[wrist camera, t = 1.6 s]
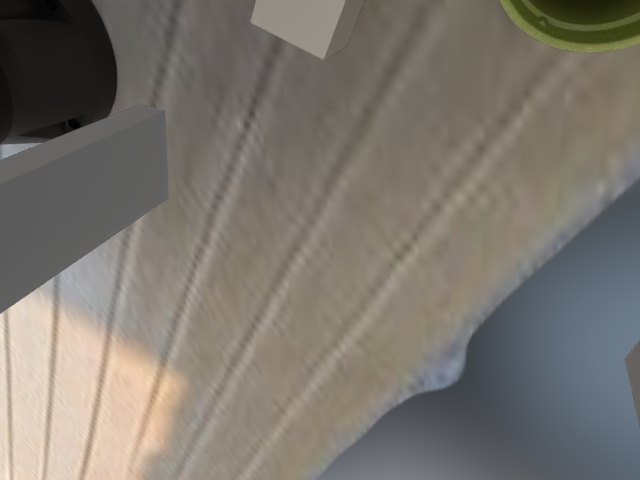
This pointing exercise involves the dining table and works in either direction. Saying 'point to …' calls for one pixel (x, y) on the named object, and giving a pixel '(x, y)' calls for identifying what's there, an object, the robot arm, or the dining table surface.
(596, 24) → the plant pot
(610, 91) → the dining table surface
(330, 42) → the cream block
